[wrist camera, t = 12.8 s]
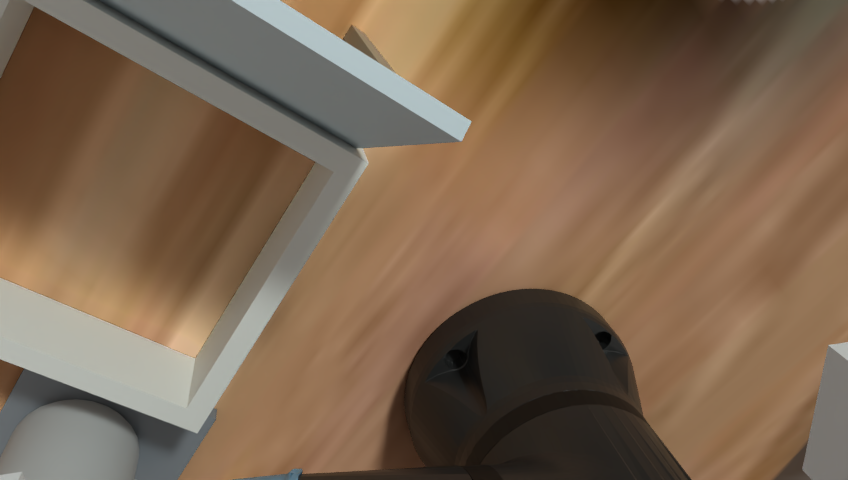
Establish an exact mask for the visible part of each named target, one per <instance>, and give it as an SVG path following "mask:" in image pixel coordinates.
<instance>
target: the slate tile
mask: <svg viewBox="0 0 848 480" xmlns="http://www.w3.org/2000/svg"><path fill="white" fill-rule="evenodd" d="M73 399H79V400H87V401H93V402H96V403H99V404H103V405H106V406H108V407H109V408H111V409H113V410H114V411H116V412H118V413H119V414H120V415H121V416H122V417H123V418H124V419H125V420H126V421H127V422H128V423H129V424H130V425H131V426H132V428H133V430H134V432H135V434H136V435H137V437H138V443H139V449H140V451H139V458H138V463H137V468H136V473H135V477H134V479H137V480H177V479H178V478H179V476H180V475H181V473H182V472H183V470H184V468H185V467H186V465H187V464H188V462H189V461H190V459H191V457H192V456H193V454H194V453H195V451H196V450H197V448H198V447H199V445H200V443H201V442H202V440H203V439H204V437H205V436H206V434H207V432H208V431H209V429H210V428H211V426H212V425H213V423H214V421H215V420H216V413H217V409H214V408H213V410H212V411H211V413H210V414H209V416H208V418H207V419H206V421H205V422H204V424H203V425H202V427H201V429H200V430H199V432H198V433H195V432H192V431H189V430H187V429H184V428H181V427H179V426H176V425H173V424H171V423H168V422H165V421H163V420H160V419H157V418H155V417H152V416H149V415H147V414H144V413H141V412H139V411H136V410H134V409H131V408H128V407H126V406H123V405H120V404H118V403H115V402H112V401H110V400H107V399H104V398H102V397H99V396H96V395H94V394H91V393H88V392H86V391H83V390H80V389H78V388H75V387H72V386H70V385H67V384H64V383H62V382H59V381H57V380H54V379H51V378H49V377H46V376H43V375H41V374H38V373H35V372H33V371H30V370H27V369H25V368H24V370H23V372H22V374H21V375H20V377H19V379H18V381H17V383H16V385H15V386H14V388H13V390H12V392H11V394H10V396H9V397H8V399H7V401H6V403H5V405H4V407H3V409H2V410H1V412H0V457H1V455H2V453H3V451H4V449H5V447H6V445H7V443H8V441H9V439H10V437H11V435H12V433H13V431H14V430H15V428H16V427H17V425H18V424H19V423H20V422H21V421H22V420H23V419H24V418H25V417H26V416H27V415H28V414H29V413H31V412H32V411H34V410H36V409H37V408H39V407H41V406H44V405H47V404H50V403H53V402H57V401H62V400H73Z"/></svg>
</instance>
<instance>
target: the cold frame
mask: <svg viewBox="0 0 848 480" xmlns="http://www.w3.org/2000/svg"><path fill="white" fill-rule="evenodd" d="M34 6H35V7H37V8H38V9H40V10H42V11H44V12H46V13H47V14H49V15H51V16H53V17H55V18H56V19H58V20H60V21H62V22H64V23H65V24H67V25H69V26H71V27H73V28H74V29H76V30H78V31H80V32H82V33H84V34H85V35H87V36H89V37H91V38H93V39H94V40H96V41H98V42H100V43H102V44H103V45H105V46H107V47H109V48H111V49H112V50H114V51H116V52H118V53H120V54H121V55H123V56H125V57H127V58H129V59H131V60H132V61H134V62H136V63H138V64H140V65H141V66H143V67H145V68H147V69H149V70H150V71H152V72H154V73H156V74H158V75H159V76H161V77H163V78H165V79H167V80H168V81H170V82H172V83H174V84H176V85H177V86H179V87H181V88H183V89H185V90H187V91H188V92H190V93H192V94H194V95H196V96H197V97H199V98H201V99H203V100H205V101H206V102H208V103H210V104H212V105H214V106H215V107H217V108H219V109H221V110H223V111H224V112H226V113H228V114H230V115H232V116H234V117H235V118H237V119H239V120H241V121H243V122H244V123H246V124H248V125H250V126H252V127H253V128H255V129H257V130H259V131H261V132H262V133H264V134H266V135H268V136H270V137H271V138H273V139H275V140H277V141H279V142H281V143H282V144H284V145H286V146H288V147H290V148H291V149H293V150H295V151H297V152H299V153H300V154H302V155H304V156H306V157H308V158H309V159H311V160H313V161H315V164H314V166H313V167H312V169H311V171H310V172H309V174H308V175H307V177H306V179H305V180H304V182H303V184H302V185H301V187H300V188H299V190H298V192H297V193H296V195H295V197H294V198H293V200H292V202H291V203H290V205H289V206H288V208H287V210H286V211H285V213H284V215H283V216H282V218H281V219H280V221H279V223H278V224H277V226H276V228H275V229H274V231H273V233H272V234H271V236H270V237H269V239H268V241H267V242H266V244H265V246H264V247H263V249H262V250H261V252H260V254H259V255H258V257H257V259H256V260H255V262H254V264H253V265H252V267H251V268H250V270H249V272H248V273H247V275H246V277H245V278H244V280H243V281H242V283H241V285H240V286H239V288H238V290H237V291H236V293H235V295H234V296H233V298H232V299H231V301H230V303H229V304H228V306H227V308H226V309H225V311H224V312H223V314H222V316H221V317H220V319H219V321H218V322H217V324H216V326H215V327H214V329H213V330H212V332H211V334H210V335H209V337H208V339H207V340H206V342H205V343H204V345H203V347H202V348H201V350H200V352H199V353H198V355H197V357H196V358H192V357H190V356H188V355H185V354H183V353H180V352H178V351H176V350H173V349H171V348H168V347H166V346H163V345H161V344H159V343H156V342H154V341H151V340H149V339H147V338H144V337H142V336H139V335H137V334H135V333H132V332H130V331H127V330H125V329H123V328H120V327H118V326H115V325H113V324H111V323H108V322H106V321H103V320H101V319H98V318H96V317H94V316H91V315H89V314H86V313H84V312H82V311H79V310H77V309H74V308H72V307H70V306H67V305H65V304H62V303H60V302H58V301H55V300H53V299H50V298H48V297H46V296H43V295H41V294H38V293H36V292H33V291H31V290H29V289H26V288H24V287H21V286H19V285H17V284H14V283H12V282H9V281H7V280H5V279H2V278H0V359H1V360H3V361H6V362H9V363H11V364H14V365H17V366H19V367H22V368H25V369H27V370H30V371H33V372H35V373H38V374H41V375H43V376H46V377H49V378H51V379H54V380H57V381H59V382H62V383H64V384H67V385H70V386H72V387H75V388H78V389H80V390H83V391H86V392H88V393H91V394H94V395H96V396H99V397H102V398H104V399H107V400H110V401H112V402H115V403H118V404H120V405H123V406H126V407H128V408H131V409H134V410H136V411H139V412H141V413H144V414H147V415H149V416H152V417H155V418H157V419H160V420H163V421H165V422H168V423H171V424H173V425H176V426H179V427H181V428H184V429H187V430H189V431H192V432H195V433H198V432H199V430H200V429H201V427H202V425H203V424H204V422H205V421H206V419H207V418H208V416H209V414H210V413H211V411H212V410H213V408H214V406H215V405H216V403H217V402H218V400H219V399H220V397H221V395H222V394H223V392H224V391H225V389H226V388H227V386H228V384H229V383H230V381H231V380H232V378H233V377H234V375H235V373H236V372H237V370H238V369H239V367H240V365H241V364H242V362H243V361H244V359H245V358H246V356H247V354H248V353H249V351H250V350H251V348H252V347H253V345H254V343H255V342H256V340H257V339H258V337H259V335H260V334H261V332H262V331H263V329H264V328H265V326H266V324H267V323H268V321H269V320H270V318H271V317H272V315H273V313H274V312H275V310H276V309H277V307H278V306H279V304H280V302H281V301H282V299H283V298H284V296H285V294H286V293H287V291H288V290H289V288H290V287H291V285H292V283H293V282H294V280H295V279H296V277H297V276H298V274H299V272H300V271H301V269H302V268H303V266H304V264H305V263H306V261H307V260H308V258H309V257H310V255H311V253H312V252H313V250H314V249H315V247H316V246H317V244H318V242H319V241H320V239H321V238H322V236H323V235H324V233H325V231H326V230H327V228H328V227H329V225H330V223H331V222H332V220H333V219H334V217H335V216H336V214H337V212H338V211H339V209H340V208H341V206H342V205H343V203H344V201H345V200H346V198H347V197H348V195H349V194H350V192H351V190H352V189H353V187H354V186H355V184H356V182H357V181H358V179H359V178H360V176H361V175H362V173H363V171H364V170H365V168H366V167H367V165H368V164H369V163H368V160H367V158H366V155H365V152H364V150H363V148H371V147H387V146H402V145H417V144H433V143H448V142H461V141H462V139H463V137H464V135H465V133H466V131H467V130H468V128H469V126H470V124H471V122H472V121H470V120H469V119H467V118H465V117H464V116H462V115H461V114H459V113H457V112H456V111H454V110H453V109H451V108H450V107H448V106H446V105H445V104H443V103H442V102H440V101H438V100H437V99H435V98H434V97H432V96H430V95H429V94H427V93H426V92H424V91H423V90H421V89H419V88H418V87H416V86H415V85H413V84H411V83H410V82H408V81H407V80H405V79H404V78H402V77H400V76H399V75H397V74H396V73H395V72H394V70H393V69H392V68H391V67H390V65H389V64H388V63H387V61H386V60H385V59H384V58H383V56H382V55H381V54H380V52H379V51H378V50H377V49H376V47H375V46H374V45H373V43H372V42H371V41H370V40H369V38H368V37H367V36H366V34H365V33H363V32H362V31H360V30H359V29H357V28H356V27H354V26H353V25H351V27H350V28H349V30H348V32H347V34H346V35H345V37H344V40H345V41H346V42H345V41H343V40H342V39H340V38H339V37H337V36H335V35H334V34H332V33H331V32H329V31H327V30H326V29H324V28H323V27H321V26H320V25H318V24H316V23H315V22H313V21H312V20H310V19H308V18H307V17H305V16H304V15H302V14H301V13H299V12H297V11H296V10H294V9H293V8H291V7H289V6H288V5H286V4H285V3H283V2H282V1H280V0H0V78H1V76H2V74H3V72H4V69H5V67H6V65H7V63H8V61H9V59H10V57H11V55H12V53H13V50H14V48H15V46H16V44H17V42H18V40H19V38H20V36H21V34H22V32H23V29H24V27H25V25H26V23H27V21H28V19H29V17H30V15H31V13H32V10H33V8H34Z"/></svg>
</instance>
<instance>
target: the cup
mask: <svg viewBox="0 0 848 480" xmlns="http://www.w3.org/2000/svg"><path fill="white" fill-rule="evenodd" d="M139 451H140V449H139V443H138V437H137V435H136V434H135V432H134V430H133V428H132V426H131V425H130V424H129V423H128V422H127V421H126V420H125V419H124V418H123V417H122V416H121V415H120V414H119V413H118V412H116V411H114V410H113V409H111V408H109V407H108V406H106V405H103V404H99V403H96V402H93V401H87V400H79V399H73V400H62V401H57V402H53V403H50V404H47V405H44V406H41V407H39V408H37V409H36V410H34V411H32V412H31V413H29V414H28V415H27V416H26V417H25V418H24V419H23V420H22V421H21V422H20V423H19V424H18V425H17V427H16V428H15V430H14V431H13V433H12V435H11V437H10V439H9V441H8V443H7V445H6V447H5V449H4V451H3V453H2V455H1V457H0V475H4V474H10V473H17V472H22V473H23V476H24V479H25V480H137V479H134V477H135V473H136V468H137V463H138V458H139Z"/></svg>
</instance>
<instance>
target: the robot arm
mask: <svg viewBox="0 0 848 480" xmlns="http://www.w3.org/2000/svg"><path fill="white" fill-rule="evenodd" d="M404 406H405V414H406V419H407V423H408V427H409V430H410V434H411V438H412V441H413V444H414V446H415V449H416V451H417V453H418V455H419V457H420V459H421V460H422V462H423V463H424V465H425V466H426V467H422V468H404V469H387V470H369V471H352V472H334V473H314V474H302V471H303V470H302V469H293V470H291V471H290V472H289V473H288V474H281V475H272V476H262V477H253V478H243V479H234V480H691V478H690V477H689V476H688V474H687V473H686V472H685V470H684V469H683V468H682V467H681V465H680V464H679V463H678V461H677V460H676V459H675V458H674V456H673V455H672V454H671V452H670V451H669V450H668V448H667V447H666V446H665V445H664V443H663V442H662V441H661V439H660V438H659V437H658V435H657V434H656V433H655V432H654V431H653V429H652V428H651V427H650V425H649V424H648V423H647V421H646V420H645V418H644V417H643V412H642V408H641V403H640V398H639V394H638V389H637V385H636V380H635V375H634V371H633V366H632V363H631V360H630V357H629V355H628V353H627V350H626V348H625V346H624V345H623V343H622V341H621V340H620V338H619V337H618V336H617V334H616V333H615V332H614V331H613V329H612V328H611V327H610V326H609V324H608V323H607V322H606V321H605V319H604V318H603V317H602V316H601V315H600V314H599V313H598V312H597V311H596V310H594V309H593V308H592V307H590V306H589V305H588V304H586V303H584V302H583V301H581V300H579V299H577V298H575V297H572V296H570V295H567V294H564V293H560V292H556V291H551V290H544V289H521V290H513V291H507V292H503V293H499V294H495V295H492V296H489V297H486V298H484V299H481V300H479V301H477V302H474V303H472V304H471V305H469V306H467V307H465V308H463V309H462V310H460V311H459V312H457V313H456V314H454V315H453V316H451V317H450V318H449V319H448V320H446V321H445V322H444V323H443V324H442V325H441V326H439V327H438V328H437V329H436V330H435V332H434V333H433V334H432V335H431V336H430V337H429V338H428V339H427V341H426V342H425V343H424V345H423V346H422V348H421V349H420V351H419V352H418V354H417V356H416V358H415V360H414V362H413V364H412V366H411V369H410V372H409V374H408V378H407V382H406V387H405V396H404ZM802 470H803V471H804V472H805V473H806V474H807V475H808V476H809V477H810V478H811V479H812V480H848V342H846V343H840V344H833V345H828V349H827V354H826V359H825V364H824V369H823V373H822V378H821V383H820V388H819V392H818V397H817V402H816V407H815V411H814V416H813V421H812V426H811V431H810V435H809V440H808V445H807V450H806V455H805V459H804V464H803V469H802ZM0 480H25V479H24V476H23V473H22V472H17V473H10V474H4V475H0Z"/></svg>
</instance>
